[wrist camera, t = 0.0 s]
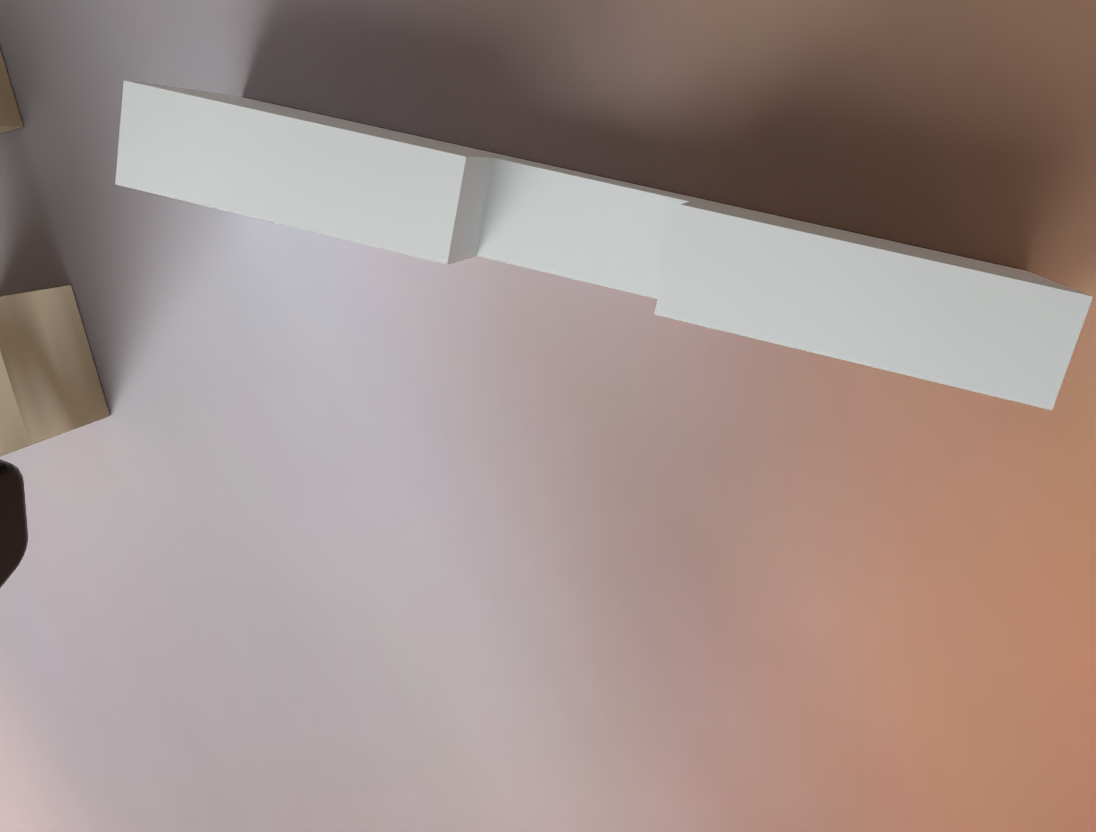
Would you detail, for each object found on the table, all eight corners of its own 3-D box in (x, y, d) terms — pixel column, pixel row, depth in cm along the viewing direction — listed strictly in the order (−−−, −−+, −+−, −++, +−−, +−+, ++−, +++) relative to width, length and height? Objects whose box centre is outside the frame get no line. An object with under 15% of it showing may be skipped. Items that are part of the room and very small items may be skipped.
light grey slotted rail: (1026, 270, 21) (1093, 296, 17) (995, 362, 21) (1052, 410, 17) (240, 96, 24) (123, 80, 19) (231, 182, 24) (114, 184, 20)
